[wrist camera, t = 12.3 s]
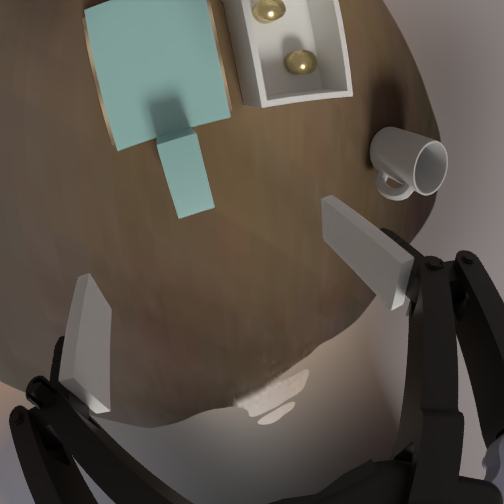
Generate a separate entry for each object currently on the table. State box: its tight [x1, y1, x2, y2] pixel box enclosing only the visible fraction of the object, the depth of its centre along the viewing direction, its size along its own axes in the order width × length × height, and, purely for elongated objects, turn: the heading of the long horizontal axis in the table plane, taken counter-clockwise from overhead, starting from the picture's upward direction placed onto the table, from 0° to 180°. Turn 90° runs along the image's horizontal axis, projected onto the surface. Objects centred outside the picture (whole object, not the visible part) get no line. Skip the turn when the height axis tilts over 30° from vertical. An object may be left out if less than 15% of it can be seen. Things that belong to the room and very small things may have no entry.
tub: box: [222, 0, 353, 108], centre depth 23 cm, size 14×10×6 cm
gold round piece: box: [284, 50, 317, 75], centre depth 26 cm, size 3×3×2 cm
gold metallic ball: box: [252, 0, 286, 24], centre depth 22 cm, size 3×3×2 cm
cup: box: [370, 127, 448, 200], centre depth 34 cm, size 7×10×9 cm
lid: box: [84, 0, 231, 219], centre depth 21 cm, size 21×11×6 cm, turn 11°
